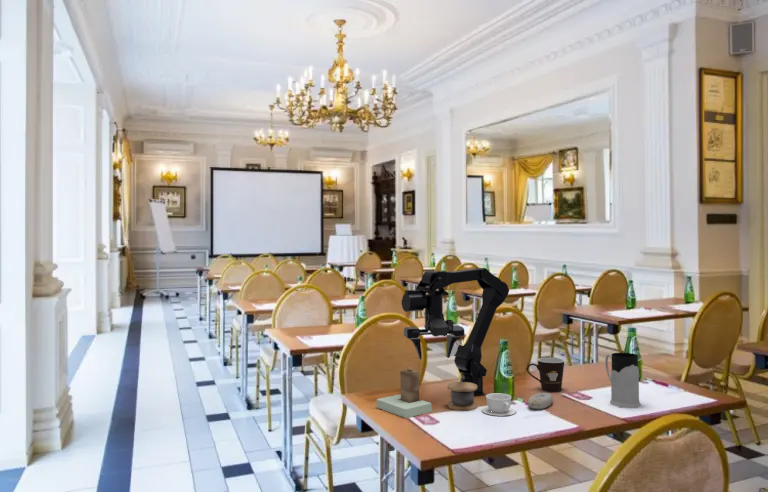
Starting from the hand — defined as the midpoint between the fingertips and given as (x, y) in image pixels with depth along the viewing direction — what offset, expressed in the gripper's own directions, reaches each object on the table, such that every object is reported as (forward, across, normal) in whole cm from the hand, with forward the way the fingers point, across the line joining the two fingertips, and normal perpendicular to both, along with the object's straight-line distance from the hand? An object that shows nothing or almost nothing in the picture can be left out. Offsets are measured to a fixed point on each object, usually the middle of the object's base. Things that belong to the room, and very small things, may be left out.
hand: (434, 358), depth 187 cm
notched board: (+13, -12, -9) cm, 20 cm away
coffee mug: (+13, +40, +3) cm, 42 cm away
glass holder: (+13, +55, -16) cm, 59 cm away
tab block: (+13, -10, -8) cm, 18 cm away
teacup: (+14, +15, -18) cm, 27 cm away
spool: (+13, +6, -10) cm, 17 cm away
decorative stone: (+14, +30, -14) cm, 36 cm away
